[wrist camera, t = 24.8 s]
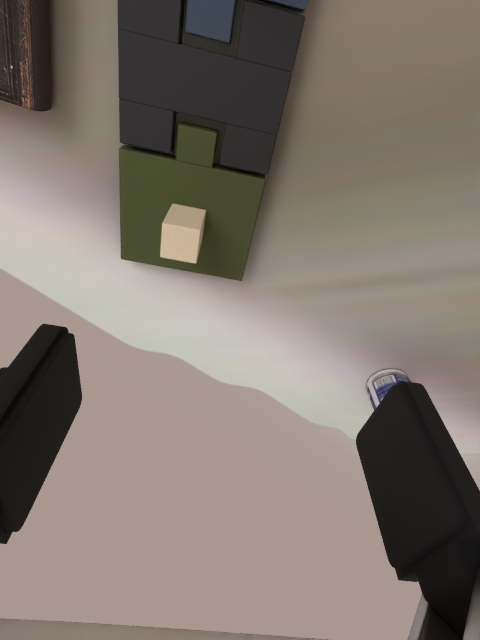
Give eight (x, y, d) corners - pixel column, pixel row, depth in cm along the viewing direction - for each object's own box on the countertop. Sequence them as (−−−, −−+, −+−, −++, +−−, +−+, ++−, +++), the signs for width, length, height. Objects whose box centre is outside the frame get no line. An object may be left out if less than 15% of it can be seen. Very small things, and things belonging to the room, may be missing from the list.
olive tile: (272, 142, 28) (277, 159, 23) (242, 273, 36) (241, 306, 31) (123, 108, 27) (97, 119, 22) (125, 252, 34) (105, 283, 30)
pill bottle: (396, 397, 47) (425, 464, 39) (359, 392, 47) (381, 459, 39) (415, 370, 44) (451, 437, 36) (375, 364, 43) (403, 431, 36)
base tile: (302, 18, 23) (305, 16, 22) (266, 170, 29) (267, 175, 28) (124, -30, 22) (116, -35, 21) (125, 139, 28) (119, 142, 27)
